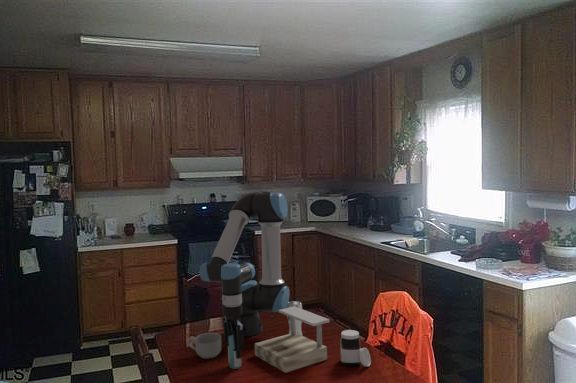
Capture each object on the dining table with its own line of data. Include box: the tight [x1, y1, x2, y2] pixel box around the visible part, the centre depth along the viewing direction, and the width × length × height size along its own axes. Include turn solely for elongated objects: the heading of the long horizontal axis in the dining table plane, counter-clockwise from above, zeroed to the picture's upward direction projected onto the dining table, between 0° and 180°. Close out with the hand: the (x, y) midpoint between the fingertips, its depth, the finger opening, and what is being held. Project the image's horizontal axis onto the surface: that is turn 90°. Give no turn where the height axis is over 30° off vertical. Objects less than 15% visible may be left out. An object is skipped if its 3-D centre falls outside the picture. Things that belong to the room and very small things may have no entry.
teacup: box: [187, 332, 222, 360], centre depth 204 cm, size 14×11×8 cm
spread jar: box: [339, 329, 372, 368], centre depth 191 cm, size 12×11×12 cm
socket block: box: [254, 333, 328, 373], centre depth 199 cm, size 22×20×5 cm
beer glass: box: [286, 300, 303, 336], centre depth 224 cm, size 7×7×15 cm
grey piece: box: [278, 306, 330, 348], centre depth 203 cm, size 24×8×11 cm, turn 35°
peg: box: [229, 335, 241, 370], centre depth 192 cm, size 4×4×12 cm
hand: (234, 364), depth 192 cm, fingers closed on peg, 4 cm apart
